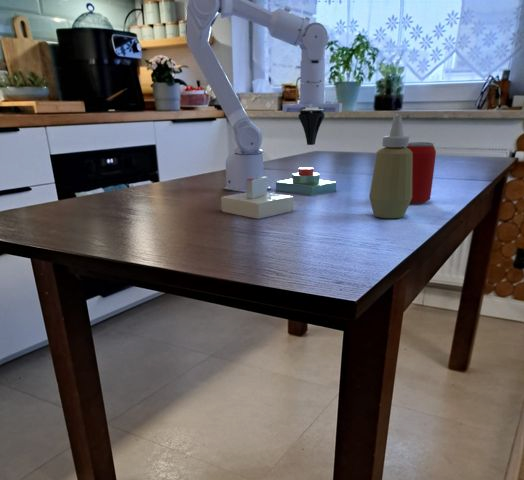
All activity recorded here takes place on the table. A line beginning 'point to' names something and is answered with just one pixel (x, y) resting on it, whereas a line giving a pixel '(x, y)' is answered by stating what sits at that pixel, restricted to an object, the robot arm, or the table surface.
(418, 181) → the beverage can
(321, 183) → the button box
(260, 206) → the base
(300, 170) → the button
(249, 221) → the table surface
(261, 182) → the block
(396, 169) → the squeeze bottle
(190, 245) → the table surface
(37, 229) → the table surface
